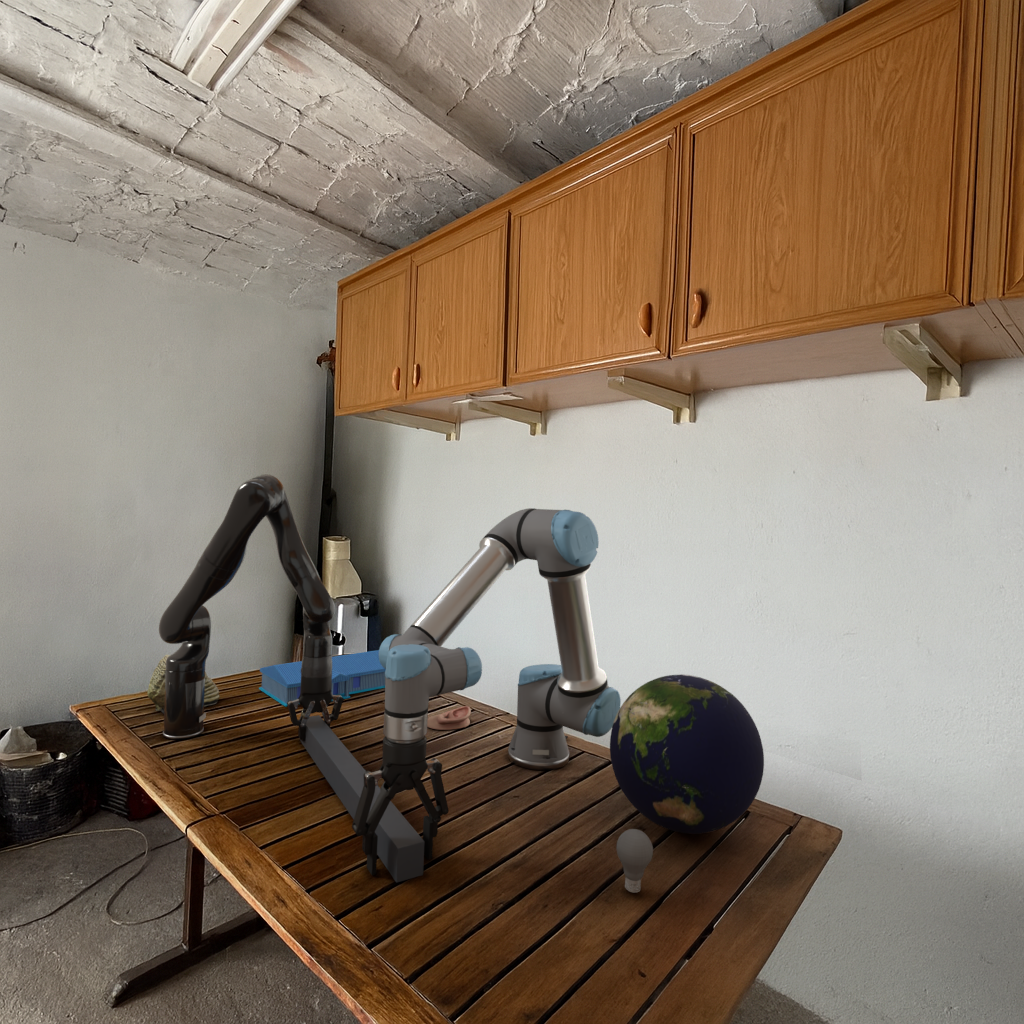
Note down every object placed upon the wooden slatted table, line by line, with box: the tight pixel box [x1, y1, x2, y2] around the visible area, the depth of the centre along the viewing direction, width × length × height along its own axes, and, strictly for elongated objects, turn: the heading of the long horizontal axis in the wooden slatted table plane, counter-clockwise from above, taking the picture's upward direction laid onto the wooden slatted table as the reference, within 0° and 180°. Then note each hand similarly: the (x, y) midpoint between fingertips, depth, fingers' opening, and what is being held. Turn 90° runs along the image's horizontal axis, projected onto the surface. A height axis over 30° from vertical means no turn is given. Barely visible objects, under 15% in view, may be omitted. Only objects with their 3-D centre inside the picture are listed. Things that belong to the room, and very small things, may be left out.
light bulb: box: [615, 828, 654, 894], centre depth 106 cm, size 6×6×10 cm
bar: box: [299, 714, 425, 883], centre depth 136 cm, size 69×5×6 cm, turn 32°
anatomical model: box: [427, 705, 472, 731], centre depth 180 cm, size 13×4×12 cm
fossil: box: [147, 654, 221, 712], centre depth 185 cm, size 9×18×15 cm, turn 132°
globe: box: [609, 673, 765, 835], centre depth 128 cm, size 30×30×30 cm
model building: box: [258, 649, 386, 707], centre depth 208 cm, size 39×24×10 cm, turn 132°
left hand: (314, 738), depth 161 cm, fingers closed on bar, 5 cm apart
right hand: (399, 862), depth 111 cm, fingers open, 10 cm apart
